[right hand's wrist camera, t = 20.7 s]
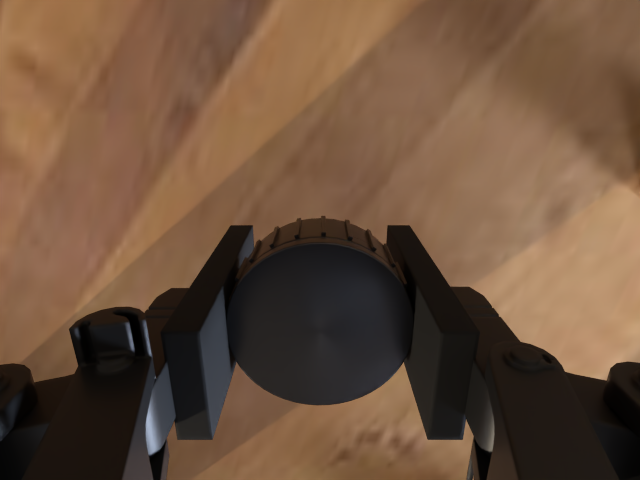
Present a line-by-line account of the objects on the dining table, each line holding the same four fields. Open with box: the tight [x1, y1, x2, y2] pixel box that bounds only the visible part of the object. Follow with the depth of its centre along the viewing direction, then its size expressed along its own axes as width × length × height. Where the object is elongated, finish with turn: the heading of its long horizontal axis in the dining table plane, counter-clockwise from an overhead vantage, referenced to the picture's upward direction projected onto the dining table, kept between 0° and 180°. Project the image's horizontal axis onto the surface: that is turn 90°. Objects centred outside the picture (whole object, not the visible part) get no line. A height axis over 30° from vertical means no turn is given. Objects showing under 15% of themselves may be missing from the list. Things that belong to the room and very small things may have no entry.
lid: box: [226, 216, 414, 405], centre depth 11 cm, size 5×5×2 cm
